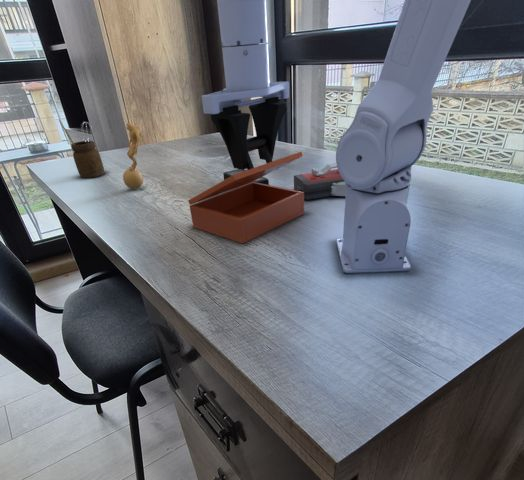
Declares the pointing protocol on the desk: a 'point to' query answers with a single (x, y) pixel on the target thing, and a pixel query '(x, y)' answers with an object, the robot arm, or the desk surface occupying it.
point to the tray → (247, 211)
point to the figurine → (133, 158)
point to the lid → (248, 169)
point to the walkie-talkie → (320, 183)
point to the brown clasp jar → (86, 157)
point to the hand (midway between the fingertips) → (253, 163)
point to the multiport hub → (233, 172)
